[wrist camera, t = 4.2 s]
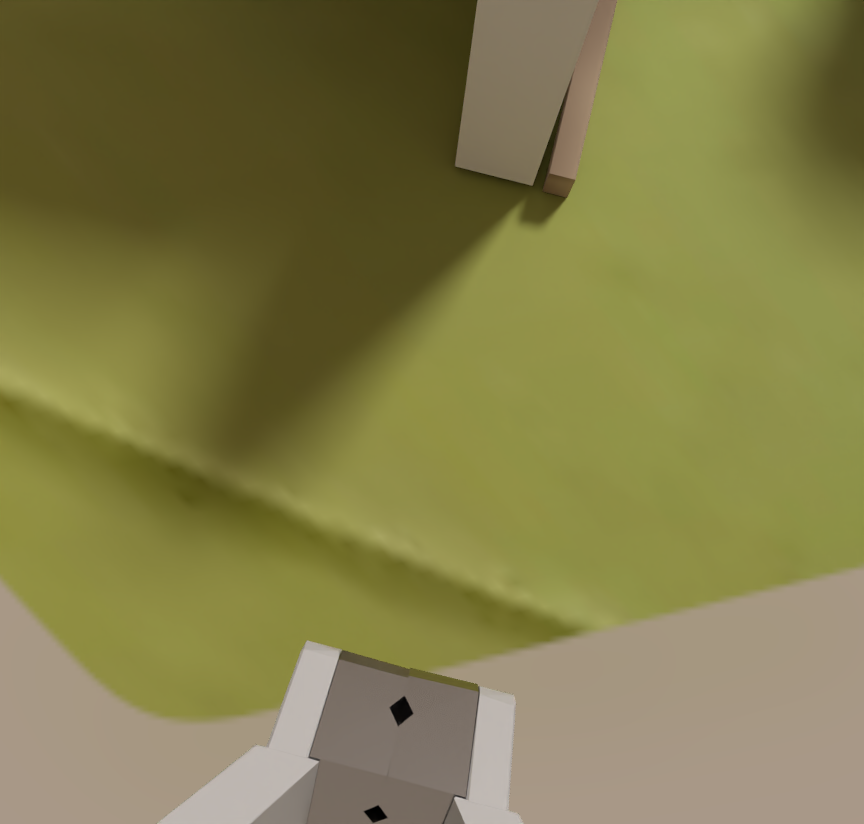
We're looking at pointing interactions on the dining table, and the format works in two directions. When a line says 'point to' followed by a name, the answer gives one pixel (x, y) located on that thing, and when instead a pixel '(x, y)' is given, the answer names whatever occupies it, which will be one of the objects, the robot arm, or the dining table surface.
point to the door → (518, 82)
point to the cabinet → (579, 103)
